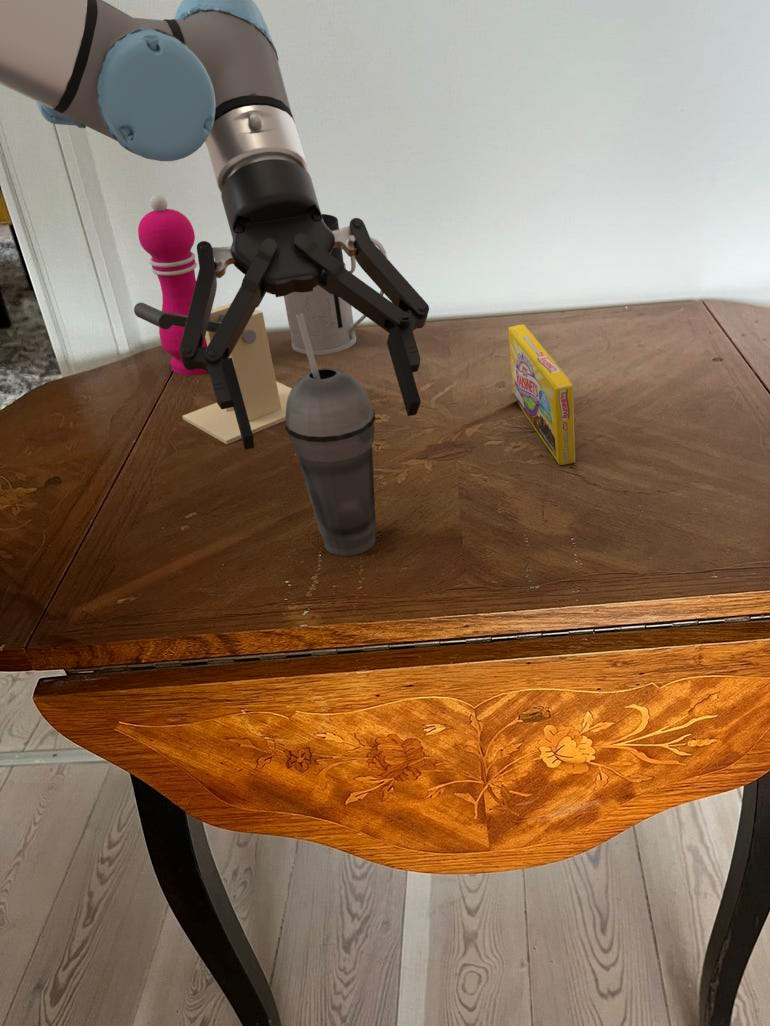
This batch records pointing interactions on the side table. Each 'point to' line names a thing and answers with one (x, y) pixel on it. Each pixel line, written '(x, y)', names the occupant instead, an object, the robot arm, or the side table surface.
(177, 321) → the wooden stand lever
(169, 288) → the pepper mill
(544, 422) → the candy box
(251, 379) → the lever mount
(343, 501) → the beverage cup
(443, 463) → the side table surface
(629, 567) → the side table surface
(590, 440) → the side table surface
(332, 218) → the glass holder
